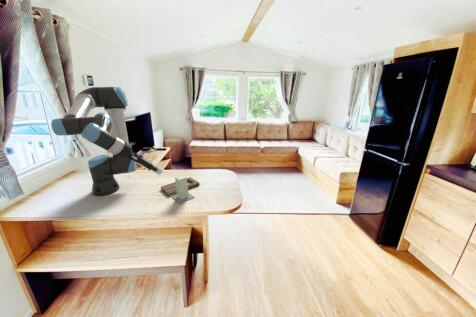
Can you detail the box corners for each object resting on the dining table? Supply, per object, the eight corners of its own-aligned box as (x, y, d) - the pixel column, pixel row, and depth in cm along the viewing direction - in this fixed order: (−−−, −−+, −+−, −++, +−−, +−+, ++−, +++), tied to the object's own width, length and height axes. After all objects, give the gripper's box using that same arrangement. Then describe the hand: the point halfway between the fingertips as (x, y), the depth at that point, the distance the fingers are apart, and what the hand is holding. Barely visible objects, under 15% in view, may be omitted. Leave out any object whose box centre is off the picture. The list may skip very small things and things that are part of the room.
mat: (171, 197, 126) (171, 196, 126) (186, 191, 133) (186, 191, 133) (179, 203, 119) (179, 202, 119) (194, 197, 126) (194, 196, 125)
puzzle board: (161, 189, 136) (160, 186, 135) (190, 179, 149) (190, 177, 149) (168, 196, 127) (168, 193, 127) (199, 185, 141) (199, 182, 140)
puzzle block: (177, 196, 126) (175, 177, 122) (184, 193, 129) (182, 174, 125) (181, 199, 123) (178, 179, 118) (188, 196, 126) (186, 177, 121)
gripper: (108, 148, 105) (143, 167, 119) (122, 162, 87) (161, 182, 102) (117, 136, 106) (151, 156, 121) (133, 147, 89) (170, 170, 104)
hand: (156, 168), depth 111 cm, fingers open, 13 cm apart
